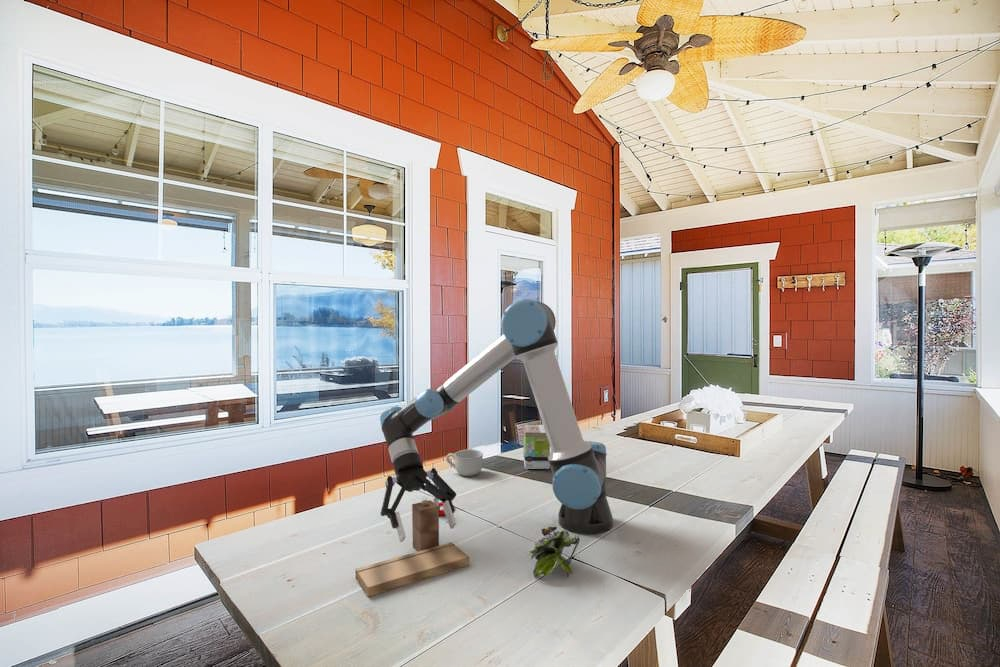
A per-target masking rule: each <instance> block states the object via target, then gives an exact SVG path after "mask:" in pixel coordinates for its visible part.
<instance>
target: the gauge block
mask: <svg viewBox="0 0 1000 667" xmlns="http://www.w3.org/2000/svg"><path fill="white" fill-rule="evenodd" d="M411 512H412V513H411V514H412V516H411V518H412V519H411V520H412V522H411V524H412V525H411V526H412V528H411V529H412V548H413V549H414V550H415V552H418V551H422V550H425V549H429V548H433V547H436V546H440V520H439V519H440V515H439V506H438V505H436V504H435V503H433V501H432V500H430V499H429V500H428V499H424V500H422V501H421V502H417V503H412V504H411Z"/></svg>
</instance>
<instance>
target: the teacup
mask: <svg viewBox="0 0 1000 667" xmlns="http://www.w3.org/2000/svg"><path fill="white" fill-rule="evenodd" d="M450 457H453V460H454V463H453V462H452V461H451V460H450ZM483 457H484V453H483V451H481V450H477V449H472V448H471V449H469V448H468V449H462V450H458V451H456V452H455V453H453V452H450V453H448V454H447V455H446V457H445V459H446V462H447V463H448V464H449V465H450V466H451V467H452V468H454V469H455V470H456V472H457V473H458V474H459V475H461V476H462V477H474V476H477V475H479V473H480V472H481V471H482V469H483V462H484V461H483V459H484V458H483Z"/></svg>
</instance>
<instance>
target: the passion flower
mask: <svg viewBox="0 0 1000 667" xmlns="http://www.w3.org/2000/svg"><path fill="white" fill-rule="evenodd" d="M557 528H558V527H557V526H548V527H547V528H546V527H545V528H541V534H542V535H543V536H544V537H541V539H538V542H535V543H534V549H531V550H529V551H528V552H529V553H530V554H532V555H531V560H533V559H535V560H537V561H536V563H535V565H534V568H533V571H532V573H533V576H534V578H536V577H538V578H539V577H540V576H545V577H546V576H549V575H550V574H552V573H553V572H554V571H556V569H557V568H558V566H560V567H561V568H563V571H566V572H567V577H568V576H569V575H570V574H572V573H573V570H572V568H571V564H572V562H573V561H572V560H573V556H574V554H575V551H576V550H577V547H578V545H579V543H580V540H581V539H580V537H579V534H578V535H576V534H575V535H574V536H571V537H570V533H569V532H568V530H564V529H562V530H559V531H556V530H557ZM552 533H553V534H552ZM572 545H575V546H574V548H573V551H572V553H571V555H570V556H569V557H567V558H565V557H564V556H563V555H562V553H563V550H564V549H565V547H566V548H570V547H571V546H572Z"/></svg>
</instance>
